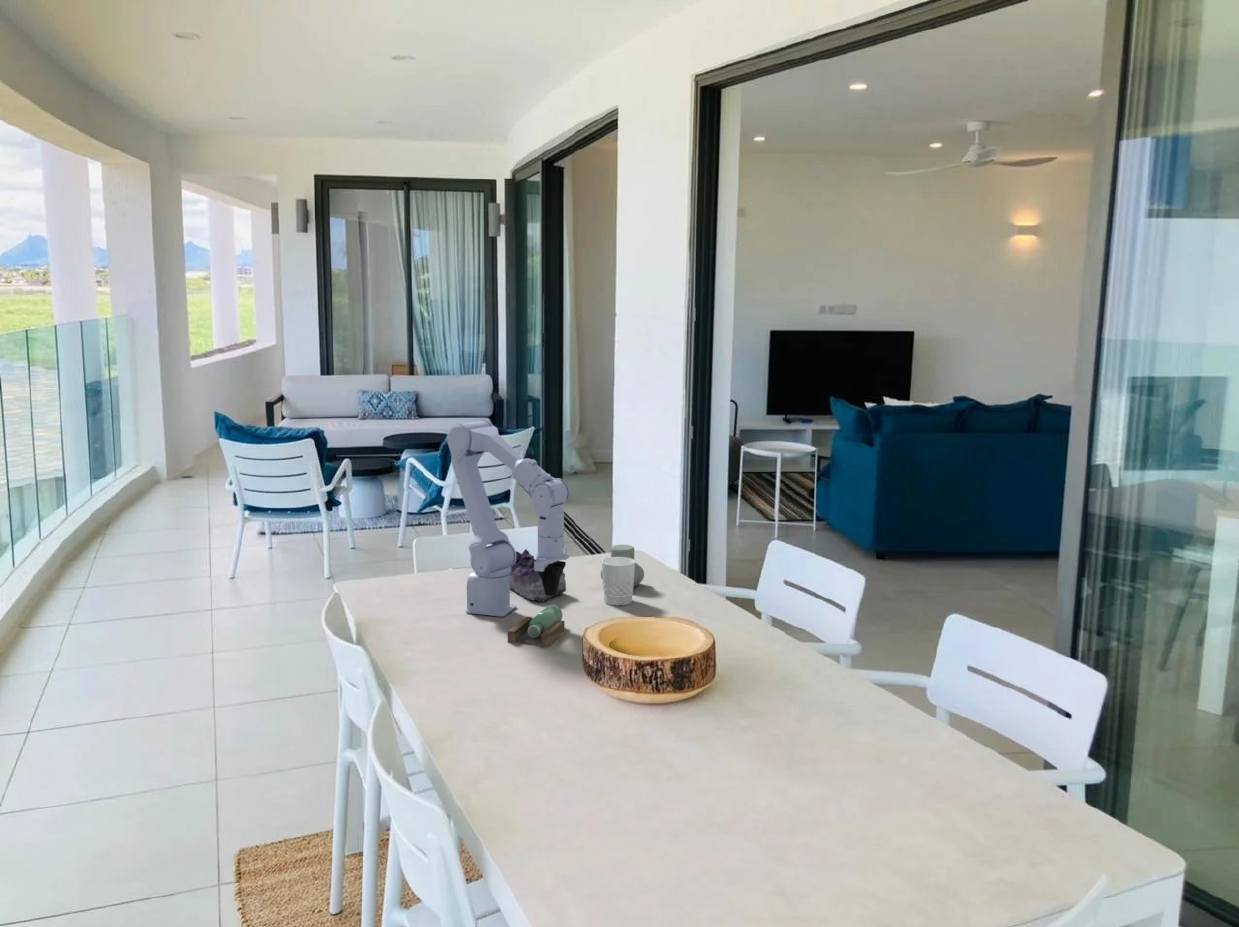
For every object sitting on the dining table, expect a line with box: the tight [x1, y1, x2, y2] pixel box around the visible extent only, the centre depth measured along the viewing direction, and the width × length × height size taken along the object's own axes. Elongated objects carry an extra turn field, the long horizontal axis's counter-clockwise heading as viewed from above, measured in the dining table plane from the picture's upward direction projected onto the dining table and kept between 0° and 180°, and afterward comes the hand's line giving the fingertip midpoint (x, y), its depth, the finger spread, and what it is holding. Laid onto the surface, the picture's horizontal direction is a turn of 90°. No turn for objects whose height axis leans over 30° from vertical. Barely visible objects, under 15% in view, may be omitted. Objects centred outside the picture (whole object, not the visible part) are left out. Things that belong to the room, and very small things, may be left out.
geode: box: [509, 548, 567, 603], centre depth 249 cm, size 20×12×10 cm, turn 38°
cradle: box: [507, 616, 565, 648], centre depth 216 cm, size 9×10×2 cm
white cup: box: [601, 556, 636, 607], centre depth 240 cm, size 8×8×10 cm
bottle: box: [528, 604, 563, 638], centre depth 218 cm, size 4×4×12 cm
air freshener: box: [600, 544, 645, 587], centre depth 254 cm, size 11×8×10 cm
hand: (550, 594), depth 223 cm, fingers closed
